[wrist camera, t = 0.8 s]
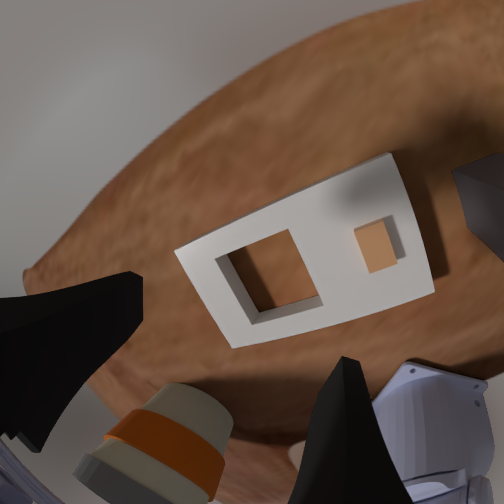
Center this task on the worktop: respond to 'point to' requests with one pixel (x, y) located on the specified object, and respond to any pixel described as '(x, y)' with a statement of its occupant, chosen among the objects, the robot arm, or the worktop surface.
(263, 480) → the worktop surface
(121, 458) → the reusable coffee cup
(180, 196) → the worktop surface
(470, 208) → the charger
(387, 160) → the white board with cutouts
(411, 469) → the robot arm
